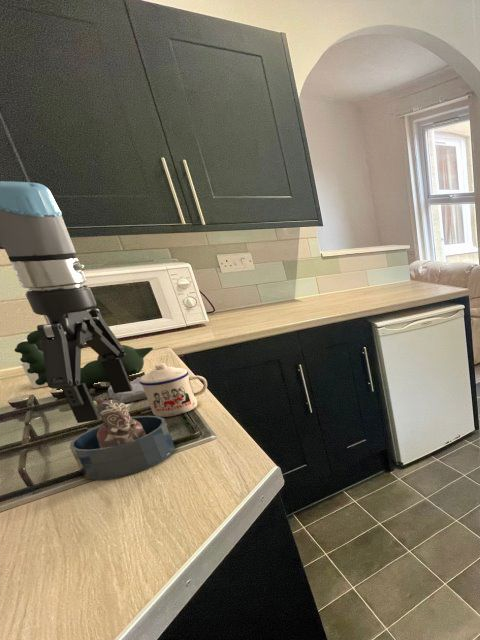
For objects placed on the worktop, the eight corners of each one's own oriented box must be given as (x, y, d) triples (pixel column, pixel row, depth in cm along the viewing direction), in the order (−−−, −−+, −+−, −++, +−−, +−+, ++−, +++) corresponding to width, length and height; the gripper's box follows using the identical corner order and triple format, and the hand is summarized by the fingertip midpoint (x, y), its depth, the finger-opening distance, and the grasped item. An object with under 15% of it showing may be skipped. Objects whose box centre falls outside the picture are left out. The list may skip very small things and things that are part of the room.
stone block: (180, 395, 114) (161, 382, 118) (175, 380, 112) (156, 367, 116) (127, 413, 105) (108, 399, 109) (120, 397, 102) (102, 383, 106)
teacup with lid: (152, 421, 95) (133, 374, 91) (152, 409, 102) (134, 364, 98) (214, 406, 102) (200, 361, 98) (210, 395, 109) (197, 353, 104)
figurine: (114, 471, 76) (87, 412, 71) (99, 461, 79) (72, 403, 75) (160, 453, 81) (138, 397, 77) (145, 444, 85) (122, 390, 80)
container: (74, 375, 127) (55, 333, 122) (71, 381, 121) (51, 338, 116) (38, 381, 122) (17, 338, 117) (33, 389, 116) (10, 344, 112)
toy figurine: (46, 409, 107) (165, 378, 120) (0, 340, 99) (133, 314, 112) (55, 398, 114) (166, 369, 127) (13, 332, 106) (136, 309, 119)
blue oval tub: (67, 487, 72) (52, 457, 70) (104, 450, 84) (92, 423, 82) (161, 469, 77) (150, 441, 75) (183, 436, 89) (174, 410, 86)
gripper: (41, 297, 59) (101, 431, 67) (119, 276, 80) (157, 379, 88) (-32, 302, 56) (39, 440, 64) (68, 278, 77) (112, 384, 86)
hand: (107, 405), depth 76 cm, fingers open, 13 cm apart
